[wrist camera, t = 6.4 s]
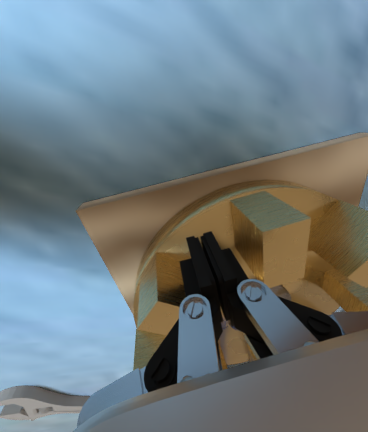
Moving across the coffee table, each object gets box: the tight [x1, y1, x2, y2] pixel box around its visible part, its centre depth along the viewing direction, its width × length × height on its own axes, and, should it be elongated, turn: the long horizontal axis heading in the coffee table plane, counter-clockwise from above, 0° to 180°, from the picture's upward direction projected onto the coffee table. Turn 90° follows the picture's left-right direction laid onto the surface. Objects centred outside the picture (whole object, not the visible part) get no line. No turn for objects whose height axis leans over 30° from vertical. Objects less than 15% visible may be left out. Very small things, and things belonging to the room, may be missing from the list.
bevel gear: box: [133, 179, 368, 371], centre depth 16 cm, size 22×22×6 cm
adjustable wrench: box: [0, 386, 90, 421], centre depth 29 cm, size 25×6×2 cm, turn 55°
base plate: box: [76, 133, 368, 315], centre depth 20 cm, size 24×24×2 cm
